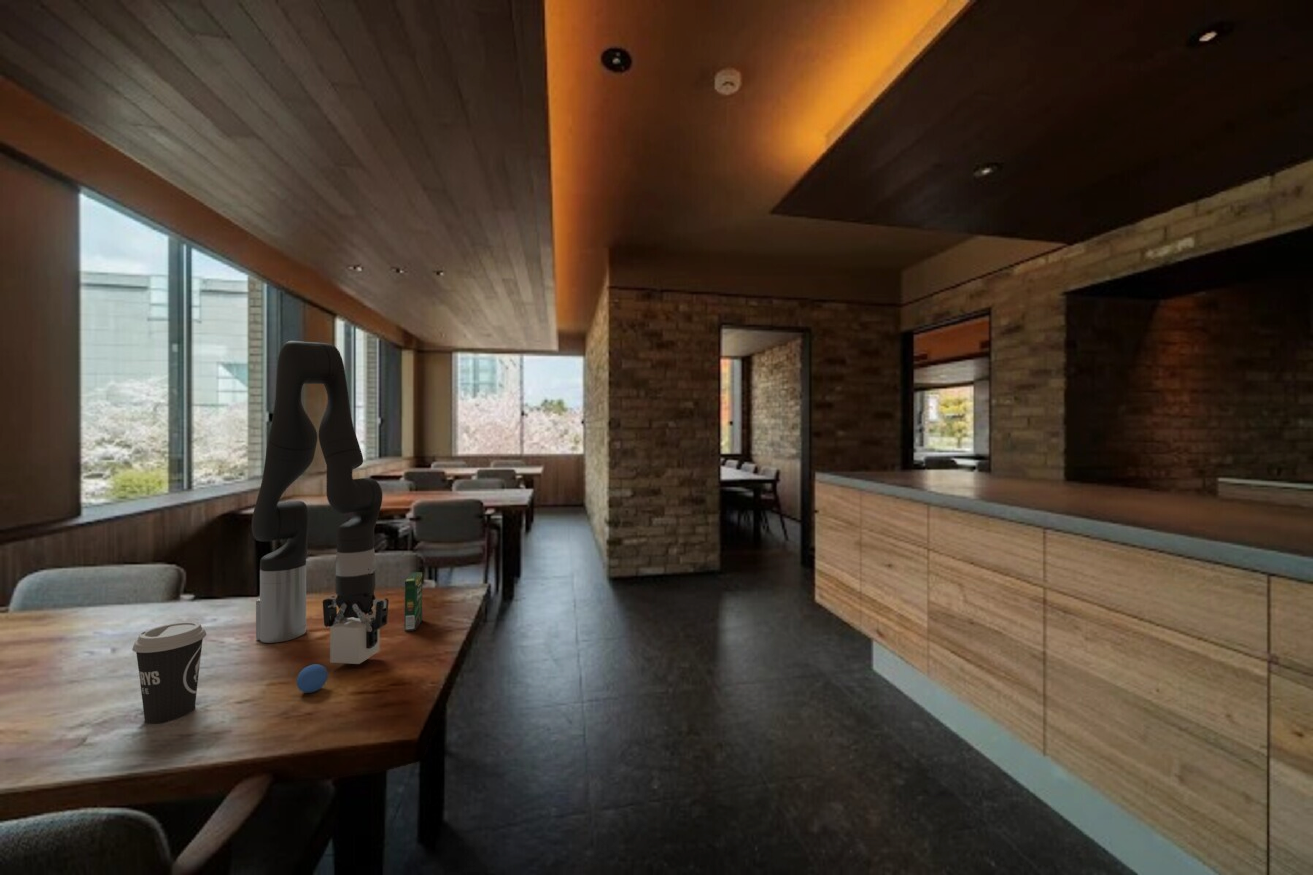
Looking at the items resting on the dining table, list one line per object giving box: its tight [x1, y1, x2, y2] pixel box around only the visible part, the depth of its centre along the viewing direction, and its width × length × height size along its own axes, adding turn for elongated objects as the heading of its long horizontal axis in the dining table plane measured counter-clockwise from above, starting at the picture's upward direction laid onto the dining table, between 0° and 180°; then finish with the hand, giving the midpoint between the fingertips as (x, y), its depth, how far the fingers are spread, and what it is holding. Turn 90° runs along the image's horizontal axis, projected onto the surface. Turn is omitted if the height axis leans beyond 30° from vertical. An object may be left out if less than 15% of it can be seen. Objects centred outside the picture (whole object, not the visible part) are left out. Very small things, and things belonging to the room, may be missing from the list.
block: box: [329, 617, 381, 665], centre depth 110 cm, size 7×7×8 cm
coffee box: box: [404, 571, 423, 632], centre depth 132 cm, size 8×3×13 cm, turn 13°
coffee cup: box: [131, 621, 207, 724], centre depth 90 cm, size 10×10×15 cm
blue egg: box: [296, 663, 329, 693], centre depth 98 cm, size 5×5×5 cm
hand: (355, 646), depth 110 cm, fingers closed on block, 6 cm apart
